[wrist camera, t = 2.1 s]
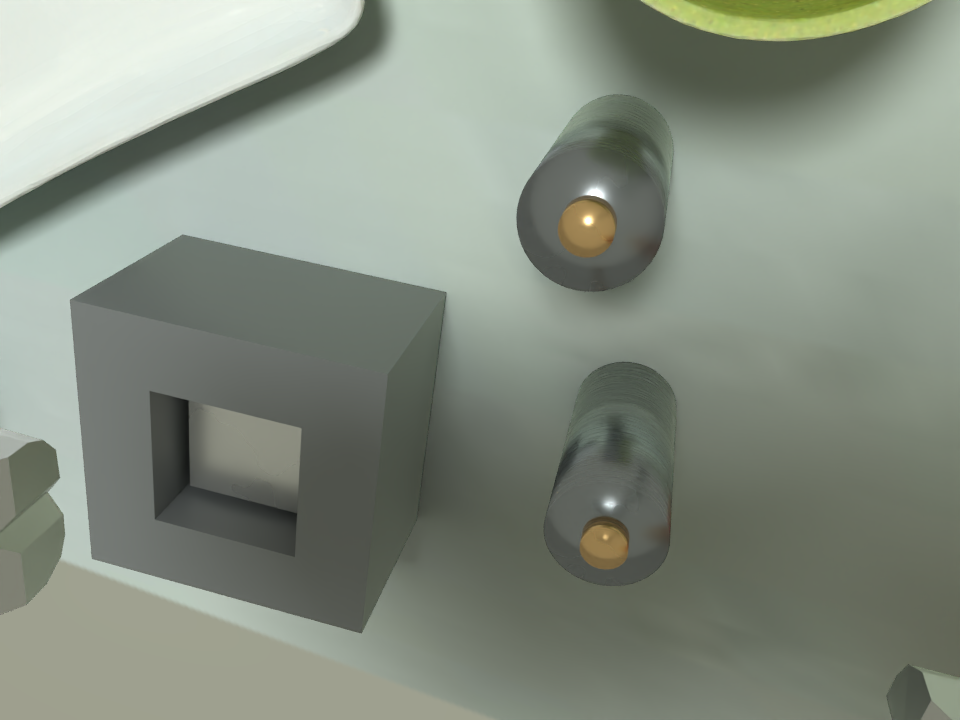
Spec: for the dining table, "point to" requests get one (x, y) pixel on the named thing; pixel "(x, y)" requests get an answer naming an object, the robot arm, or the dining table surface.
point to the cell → (599, 196)
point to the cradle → (264, 394)
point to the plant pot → (782, 16)
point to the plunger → (244, 456)
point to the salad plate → (136, 69)
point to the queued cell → (615, 478)
